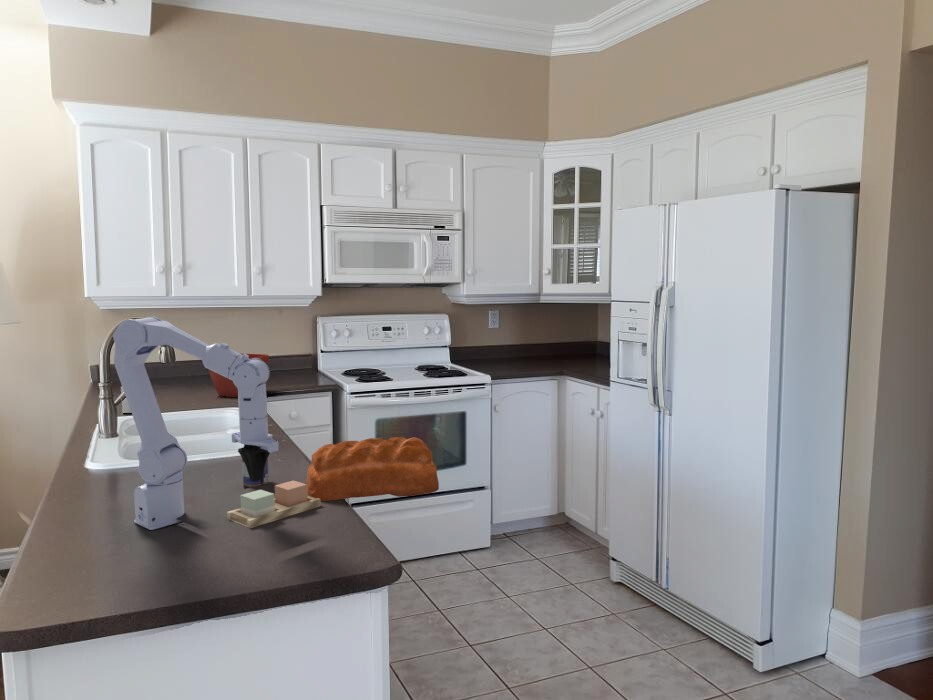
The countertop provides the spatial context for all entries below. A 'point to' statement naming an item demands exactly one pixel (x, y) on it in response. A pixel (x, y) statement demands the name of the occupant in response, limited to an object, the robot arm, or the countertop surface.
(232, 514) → the socket board
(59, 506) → the countertop surface
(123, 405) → the small box
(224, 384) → the plant pot
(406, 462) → the bread
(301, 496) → the terracotta brick
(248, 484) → the pill bottle
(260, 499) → the two tone brick
